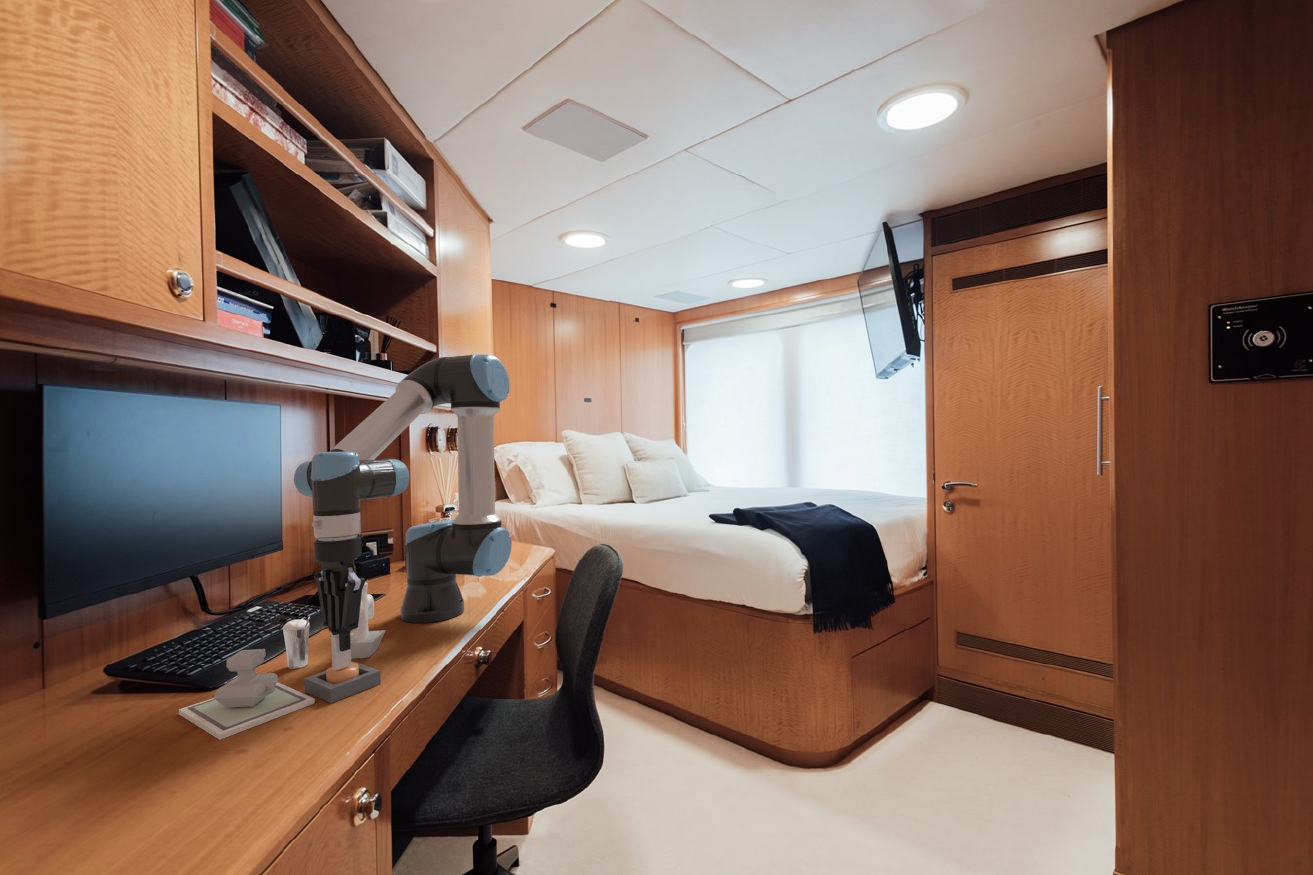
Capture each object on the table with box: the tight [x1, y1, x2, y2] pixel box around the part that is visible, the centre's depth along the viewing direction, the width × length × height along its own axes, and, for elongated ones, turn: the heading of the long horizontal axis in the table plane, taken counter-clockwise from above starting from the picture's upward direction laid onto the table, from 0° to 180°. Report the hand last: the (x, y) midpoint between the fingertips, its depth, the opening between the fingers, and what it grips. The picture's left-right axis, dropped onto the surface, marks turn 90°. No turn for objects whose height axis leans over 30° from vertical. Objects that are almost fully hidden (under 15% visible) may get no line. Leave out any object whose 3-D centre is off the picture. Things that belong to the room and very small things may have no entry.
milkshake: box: [282, 616, 311, 670], centre depth 119 cm, size 5×5×10 cm
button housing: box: [303, 661, 382, 704], centre depth 109 cm, size 9×9×2 cm
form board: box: [178, 681, 316, 741], centre depth 101 cm, size 14×16×1 cm
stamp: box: [213, 648, 279, 708], centre depth 101 cm, size 9×7×8 cm
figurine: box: [350, 581, 387, 660], centre depth 125 cm, size 7×9×15 cm
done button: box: [325, 662, 359, 685], centre depth 109 cm, size 5×5×3 cm
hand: (341, 667), depth 108 cm, fingers closed
